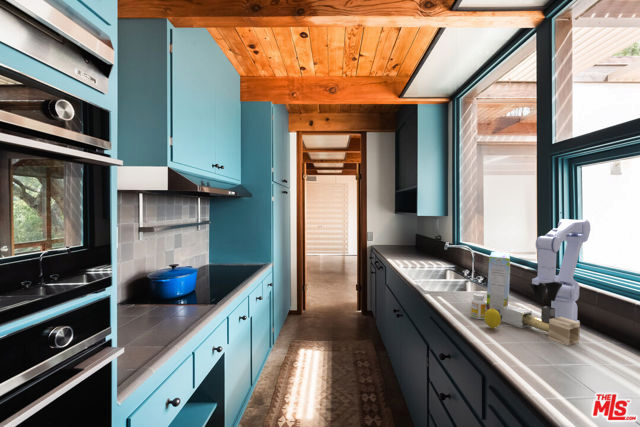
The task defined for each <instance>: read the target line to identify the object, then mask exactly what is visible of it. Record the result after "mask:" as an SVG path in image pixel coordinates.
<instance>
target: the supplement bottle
mask: <svg viewBox="0 0 640 427" xmlns="http://www.w3.org/2000/svg"><path fill="white" fill-rule="evenodd" d="M484 299H485V295H484V294H482V293H473V298H472V299H471V304H470V306H471V307H470V308H471V309H470V310H471V311H470V316H471V318H473V319H476V320H485V319H484V316H485V313H486V304H487V301H485V300H484Z"/></svg>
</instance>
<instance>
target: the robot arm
mask: <svg viewBox="0 0 640 427" xmlns="http://www.w3.org/2000/svg"><path fill="white" fill-rule="evenodd" d="M590 233H591V222H590V221H589V220H588V219H565V218H561V219H560V220H559V221H558V224H557V228H556V227H555V228H552V229H551V230H550V231H548V232H547V233H546V234H545V235H541V236H538V237H537V238H536V240H535V249H536V254H537V256H538V257H537V276H536V277H534V278H532V279H531V282H530V283H529V285H530V287H531V289H532V291H533V294H534V298H535V302H537V303H538V304H539V303H540V304H543V303H544V301H545V294H546V296H547V300H548V301H551V303H550V304H551V306H550V307H551V308H555V318H557V317H564V318H567V319H570V320H574V321H577V322H580V320H578V305H577V303H576V301H578V300H579V297H580V285H579V283H578V281H577V280H575V279H574V276H575V272H576V269H577V263H578V260H579V256H580V252H581V249H582V246H583V243H585V242H587V241H588V240H589V237H590ZM564 241H565V242H566V247H565V250H564V254H563V258H562V260H561V264H560V269H559V273H558V274H557V273H556V270H557V252H558V251H559V250H560V247H561V245H562V243H563V242H564ZM556 274H557V275H556ZM580 323H581V322H580Z"/></svg>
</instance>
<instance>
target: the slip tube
mask: <svg viewBox="0 0 640 427" xmlns="http://www.w3.org/2000/svg"><path fill="white" fill-rule="evenodd" d="M540 314H541V315H540V316H541V317H536V316H534V315H532V316H531V315H528V314H523V324H525V325H528V326H530V327H531V328H534V329H537V330H541V331H543V332H545V333H549V319H552V318H555V308H551V306H547V305H544V306H541V313H540Z"/></svg>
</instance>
